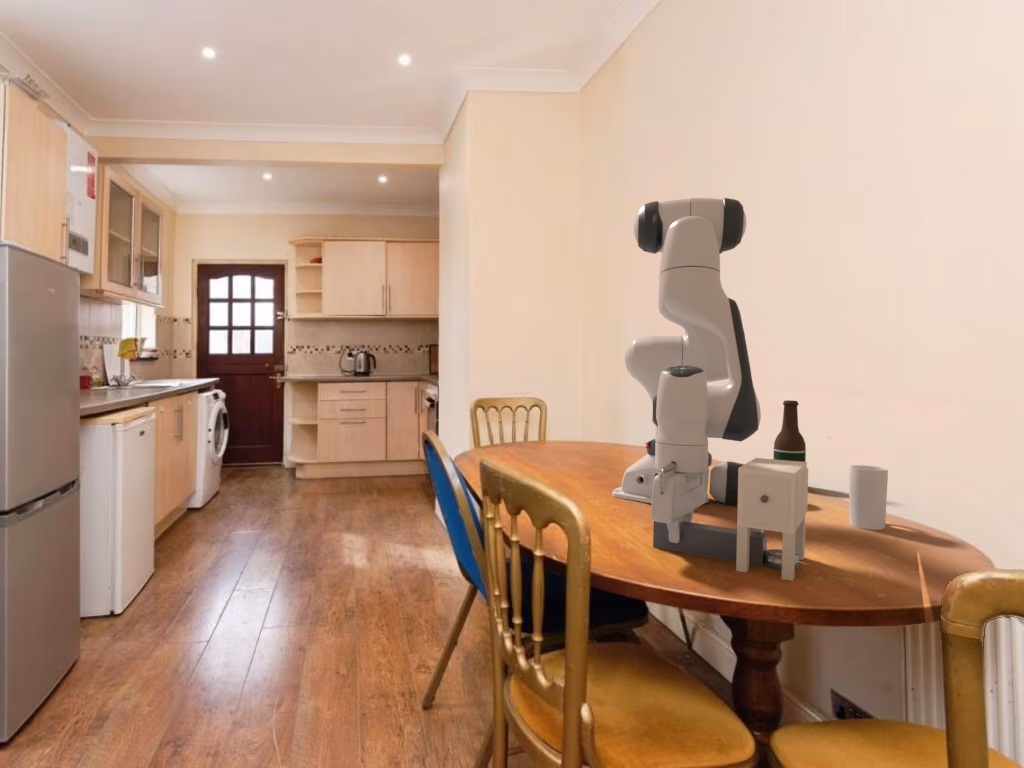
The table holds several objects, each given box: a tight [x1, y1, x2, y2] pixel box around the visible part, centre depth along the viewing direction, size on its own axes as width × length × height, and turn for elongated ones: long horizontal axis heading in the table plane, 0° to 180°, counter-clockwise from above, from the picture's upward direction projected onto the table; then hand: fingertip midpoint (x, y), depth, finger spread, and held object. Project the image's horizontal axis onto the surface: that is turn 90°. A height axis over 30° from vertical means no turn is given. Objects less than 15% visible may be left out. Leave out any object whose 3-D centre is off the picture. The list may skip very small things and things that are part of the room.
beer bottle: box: [772, 399, 807, 462], centre depth 160 cm, size 8×8×24 cm
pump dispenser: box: [709, 461, 744, 506], centre depth 141 cm, size 10×10×15 cm
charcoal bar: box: [652, 520, 768, 567], centre depth 103 cm, size 18×4×4 cm, turn 57°
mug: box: [848, 464, 889, 531], centre depth 124 cm, size 10×7×12 cm, turn 150°
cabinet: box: [735, 457, 809, 582], centre depth 97 cm, size 8×15×16 cm, turn 148°
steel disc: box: [763, 548, 800, 571], centre depth 97 cm, size 5×5×2 cm
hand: (679, 538), depth 105 cm, fingers closed on charcoal bar, 3 cm apart
